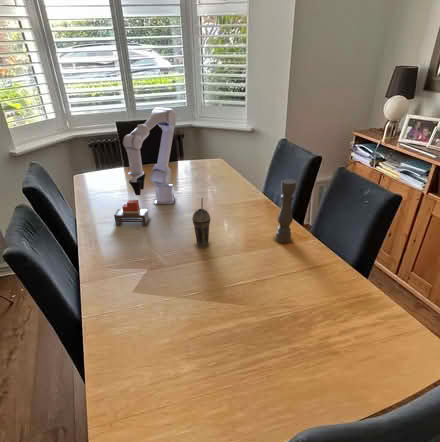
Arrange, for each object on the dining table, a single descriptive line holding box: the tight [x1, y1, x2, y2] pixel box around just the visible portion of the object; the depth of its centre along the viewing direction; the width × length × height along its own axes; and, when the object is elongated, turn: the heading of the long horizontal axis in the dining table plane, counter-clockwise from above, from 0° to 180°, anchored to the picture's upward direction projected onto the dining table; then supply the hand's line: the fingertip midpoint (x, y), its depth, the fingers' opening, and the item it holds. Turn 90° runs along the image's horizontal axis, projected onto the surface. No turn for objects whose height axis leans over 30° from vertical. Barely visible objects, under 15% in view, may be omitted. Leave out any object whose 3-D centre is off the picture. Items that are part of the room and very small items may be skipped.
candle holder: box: [275, 178, 297, 244], centre depth 145 cm, size 6×6×25 cm
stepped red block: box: [122, 199, 141, 214], centre depth 164 cm, size 7×4×5 cm, turn 88°
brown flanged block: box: [113, 208, 150, 226], centre depth 167 cm, size 14×7×5 cm, turn 88°
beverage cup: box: [192, 197, 211, 249], centre depth 144 cm, size 7×7×20 cm
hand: (139, 192), depth 172 cm, fingers open, 7 cm apart
